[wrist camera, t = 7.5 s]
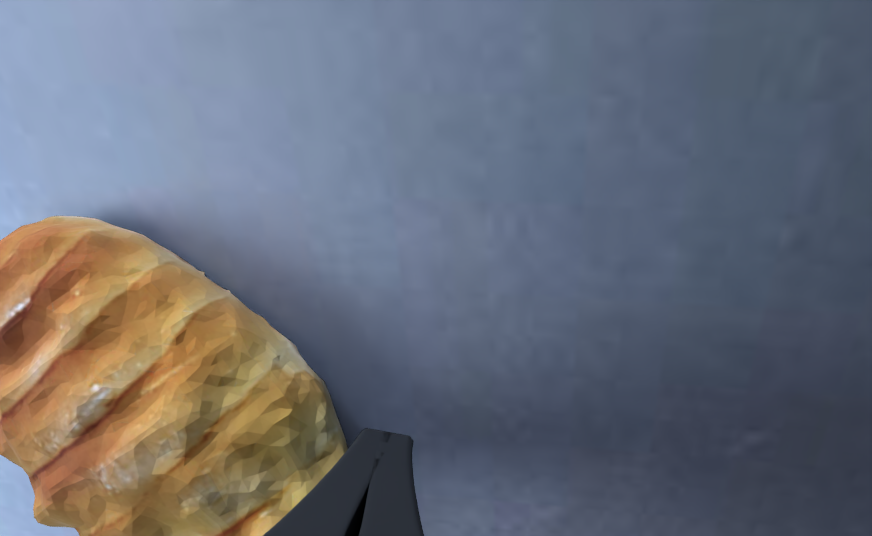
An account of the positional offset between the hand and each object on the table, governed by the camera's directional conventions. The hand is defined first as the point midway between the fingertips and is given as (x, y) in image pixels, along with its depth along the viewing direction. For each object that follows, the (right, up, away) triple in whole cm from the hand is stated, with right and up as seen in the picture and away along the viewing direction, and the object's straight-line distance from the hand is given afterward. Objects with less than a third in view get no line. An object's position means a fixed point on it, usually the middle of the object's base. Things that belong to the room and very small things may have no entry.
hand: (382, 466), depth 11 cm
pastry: (-5, +1, +2) cm, 6 cm away
